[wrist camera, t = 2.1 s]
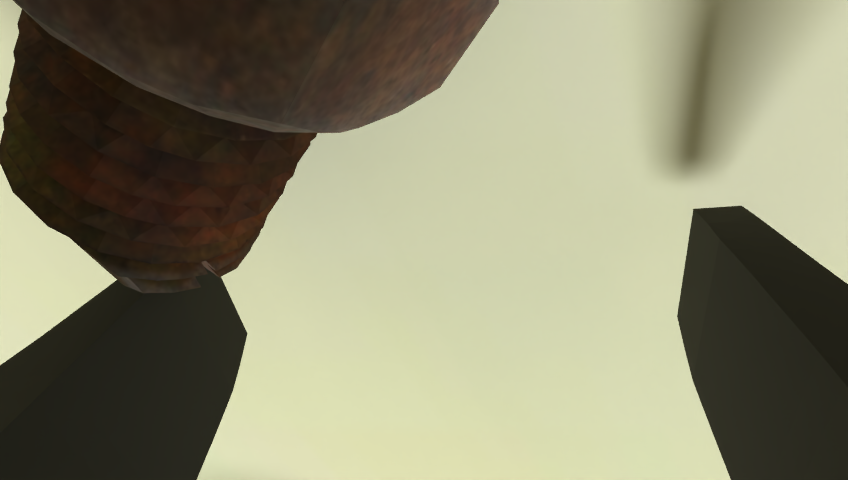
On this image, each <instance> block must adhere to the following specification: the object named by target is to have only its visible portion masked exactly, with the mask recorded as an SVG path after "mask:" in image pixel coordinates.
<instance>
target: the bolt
mask: <svg viewBox="0 0 848 480" xmlns="http://www.w3.org/2000/svg"><path fill="white" fill-rule="evenodd" d="M13 1H14V2H15V3H16V4H17V5H19V6H20V7H21V8H22V11H21V15H20V18H19V21H18V29H19V36H18V39H17V42H16V45H15V48H14V52H13V53H14V58H15V64H14V68H13V72H12V76H11V81H10V85H9V88H10V91H9V94H8V98H7V101H6V106H7V112H6V114H5V115H4V117H3V121H4V131H3V134H2V139H1V143H0V164H1V166H2V168H3V171H4V173H5V175H6V177H7V180H8V182H9V184H10V186H11V189H12V191H13V193H14V194H15V195H17V196H18V197H19V198H20V199H21V200H22V201H23V202H24V203H25V204H26V205H27V206H28V207H29V208H30V209H31V210H32V211H33V212H34V213H35V214H36V215H37V216H38V217H39V218H40V219H41V220H42V221H43V222H44V223H45V224H46V225H47V226H48V227H50V228H52V229H54V230H56V231H58V232H60V233H62V234H64V235H66V236H68V237H69V238H71V239H72V240H73V241H74V242H75V243H76V244H77V245H78V246H80V247H81V248H82V249H83V250H84V251H85V252H86V253H88V254H89V255H90V256H91V257H92V258H93V259H94V260H96V261H97V262H98V263H99V264H100V265H101V266H102V267H104V268H105V269H106V270H107V271H108V272H109V273H110V274H112V275H113V276H114V277H115V278H116V279H117V280H118V281H119V282H121V283H122V284H123V285H124V286H127V287H129V288H132V289H134V290H137V291H139V292H142V293H175V292H180V291H185V290H190V289H195V288H200V287H201V286H200V284H199V283H198V281H197V279H196V276H201V275H206V274H208V273H207V271H206V269H208V270H209V271H211V272H212V273H214V274H215V275H216V276H218V277H221V276H223V275H225V274H227V273H229V272H230V271H232V270H234V269H236V268H237V267H238V266H239V264H240V263H241V262H242V260H243V259H244V258H245V256H246V255H247V254H248V252H249V251H250V249H251V247H252V245H253V243H254V242H255V240H256V239H257V237H258V236H259V234H260V231H261V229H262V228H263V226H264V223H265V221H266V218H267V215H268V214H269V212H270V211H271V209H272V208H273V206H274V205H275V203H276V202H277V201H278V199H279V197H280V196H281V195H282V194H283V191H284V188H285V185H286V183H287V181H288V180H289V179H290V178H291V177H293V175H294V172H295V169H296V166H297V163H298V162H299V160H300V159H301V157H302V156H303V154H304V153H305V152H306V150H307V149H308V147H309V146H310V141H311V140H313V139H314V138H315V137H316V135H317V133H340V132H344V131H348V130H352V129H356V128H360V127H362V126H365V125H367V124H370V123H372V122H375V121H377V120H380V119H382V118H385V117H387V116H390V115H393V114H395V113H398V112H399V111H401V110H403V109H404V108H406V107H408V106H409V105H411V104H413V103H415V102H416V101H418V100H420V99H421V98H423V97H425V96H426V95H428V94H430V93H431V92H433V91H435V90H436V89H438V88H440V87H441V85H442V84H443V82H444V81H445V79H446V78H447V77H448V75H449V74H450V72H451V71H452V69H453V68H454V67H455V65H456V64H457V62H458V61H459V59H460V58H461V57H462V55H463V54H464V52H465V51H466V49H467V48H468V47H469V45H470V44H471V42H472V41H473V39H474V38H475V37H476V35H477V34H478V32H479V31H480V29H481V28H482V27H483V25H484V24H485V22H486V21H487V19H488V18H489V17H490V15H491V14H492V12H493V11H494V9H495V8H496V7H497V5H498V4H499V0H13ZM204 267H205V268H206V269H205V268H204Z"/></svg>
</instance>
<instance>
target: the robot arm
mask: <svg viewBox="0 0 848 480" xmlns="http://www.w3.org/2000/svg"><path fill="white" fill-rule="evenodd" d="M204 268H205V267H204ZM205 269H206V268H205ZM206 271H207V273H208V274H206V275H201V276H196V279H197V281H198V283H199V284H200V286H201V287H200V288H195V289H190V290H185V291H180V292H175V293H142V292H139V291H137V290H134V289H132V288H129V287H127V286H124V285H123V284H122V283H121V282H119V281H118V280H116V281H115V282H114V283H112V284H111V285H110V286H108V287H107V288H106V289H104V290H103V291H102V292H100V293H99V294H98V295H96V296H95V297H94V298H92V299H91V300H90V301H88V302H87V303H86V304H84V305H83V306H82V307H80V308H79V309H78V310H76V311H75V312H74V313H72V314H71V315H70V316H68V317H67V318H66V319H64V320H63V321H61V322H60V323H59V324H57V325H56V326H55V327H53V328H52V329H51V330H49V331H48V332H47V333H45V334H44V335H43V336H41V337H40V338H39V339H37V340H36V341H34V342H33V343H31V344H30V345H29V346H27V347H26V348H24V349H23V350H22V351H20V352H19V353H17V354H16V355H14V356H13V357H12V358H10V359H9V360H7V361H6V362H4V363H3V364H2V365H0V480H197V477H198V475H199V472H200V470H201V468H202V465H203V463H204V460H205V458H206V456H207V453H208V451H209V448H210V446H211V444H212V441H213V439H214V436H215V434H216V431H217V429H218V427H219V424H220V422H221V419H222V417H223V414H224V412H225V409H226V407H227V404H228V402H229V399H230V396H231V394H232V391H233V388H234V384H235V381H236V377H237V374H238V370H239V366H240V362H241V358H242V354H243V350H244V345H245V341H246V337H247V332H246V330H245V328H244V325H243V323H242V321H241V319H240V317H239V315H238V313H237V310H236V308H235V306H234V304H233V302H232V300H231V298H230V296H229V293H228V291H227V289H226V287H225V285H224V283H223V281H222V278H221V277H218V276H216V275H215V274H214V273H212V272H211V271H209V270H208V269H206ZM677 317H678V321H679V326H680V330H681V334H682V339H683V343H684V347H685V351H686V355H687V359H688V363H689V367H690V371H691V375H692V379H693V382H694V385H695V387H696V390H697V393H698V395H699V398H700V401H701V403H702V406H703V408H704V411H705V414H706V416H707V419H708V422H709V424H710V427H711V429H712V432H713V435H714V437H715V440H716V442H717V445H718V447H719V450H720V453H721V455H722V458H723V460H724V463H725V465H726V468H727V471H728V473H729V476H730V478H731V480H848V284H847V283H845V282H844V281H843V280H841V279H840V278H838V277H837V276H836V275H834V274H833V273H832V272H830V271H829V270H828V269H826V268H825V267H823V266H822V265H821V264H819V263H818V262H817V261H815V260H814V259H813V258H811V257H810V256H809V255H807V254H806V253H805V252H803V251H802V250H801V249H799V248H798V247H797V246H795V245H794V244H793V243H791V242H790V241H789V240H787V239H786V238H785V237H783V236H782V235H781V234H779V233H778V232H777V231H775V230H774V229H773V228H772V227H770V226H769V225H767V224H766V223H765V222H763V221H762V220H761V219H759V218H758V217H757V216H755V215H754V214H753V213H751V212H750V211H748V210H747V209H745V208H744V207H742V206H731V207H716V208H701V209H693V216H692V223H691V229H690V236H689V242H688V249H687V256H686V262H685V269H684V275H683V282H682V289H681V295H680V302H679V308H678V315H677Z"/></svg>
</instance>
